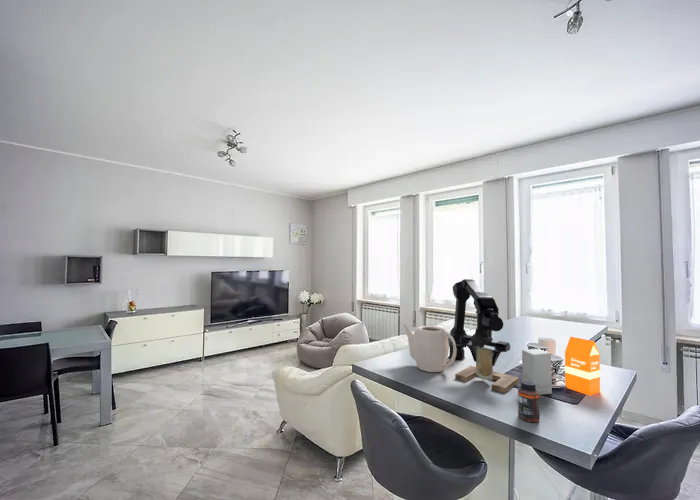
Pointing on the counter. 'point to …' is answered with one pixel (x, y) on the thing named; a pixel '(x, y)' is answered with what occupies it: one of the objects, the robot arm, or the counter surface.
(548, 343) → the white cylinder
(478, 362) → the skincare box
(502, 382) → the notched board
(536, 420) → the supplement bottle
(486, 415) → the counter surface
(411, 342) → the watering can
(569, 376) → the orange juice
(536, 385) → the skincare box
